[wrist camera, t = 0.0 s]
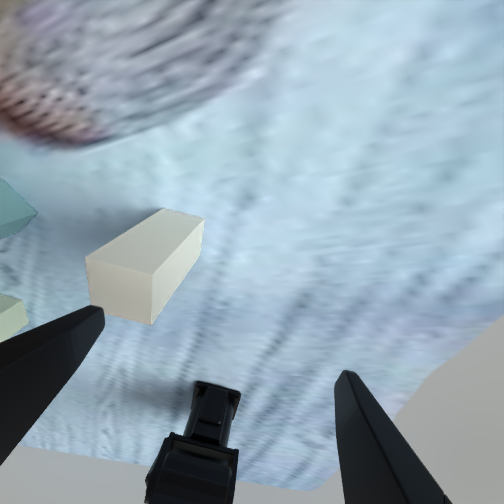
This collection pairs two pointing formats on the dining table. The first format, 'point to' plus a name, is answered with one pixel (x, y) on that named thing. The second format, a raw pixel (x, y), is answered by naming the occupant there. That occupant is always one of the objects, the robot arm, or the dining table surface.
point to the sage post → (11, 316)
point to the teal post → (13, 211)
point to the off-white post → (144, 265)
